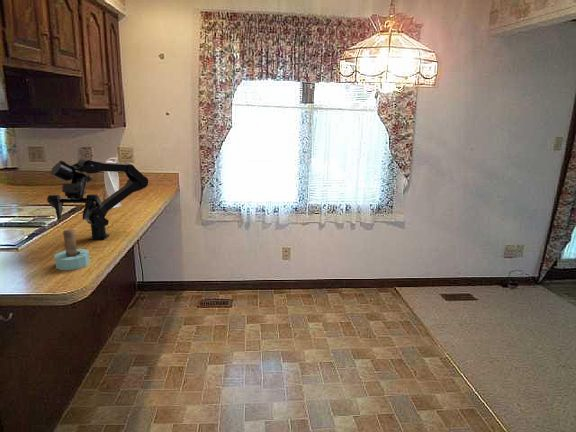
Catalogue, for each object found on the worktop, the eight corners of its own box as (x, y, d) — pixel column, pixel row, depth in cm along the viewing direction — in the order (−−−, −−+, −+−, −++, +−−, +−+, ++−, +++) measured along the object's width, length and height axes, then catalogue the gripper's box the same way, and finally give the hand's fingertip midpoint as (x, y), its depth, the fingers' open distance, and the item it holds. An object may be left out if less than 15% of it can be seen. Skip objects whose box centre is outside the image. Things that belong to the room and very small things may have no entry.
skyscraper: (115, 204, 230) (111, 156, 223) (124, 206, 227) (120, 158, 219) (102, 207, 223) (97, 158, 216) (112, 209, 219) (107, 159, 212)
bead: (66, 258, 151) (65, 248, 149) (95, 258, 151) (93, 249, 150) (49, 269, 140) (48, 259, 139) (80, 270, 140) (79, 260, 139)
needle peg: (67, 263, 146) (63, 230, 142) (78, 261, 148) (74, 229, 144) (67, 266, 143) (63, 233, 139) (78, 265, 145) (74, 231, 141)
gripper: (45, 174, 153) (36, 209, 145) (95, 174, 156) (89, 208, 148) (56, 190, 162) (48, 223, 155) (103, 190, 165) (98, 222, 158)
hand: (70, 219), depth 154 cm, fingers open, 9 cm apart
